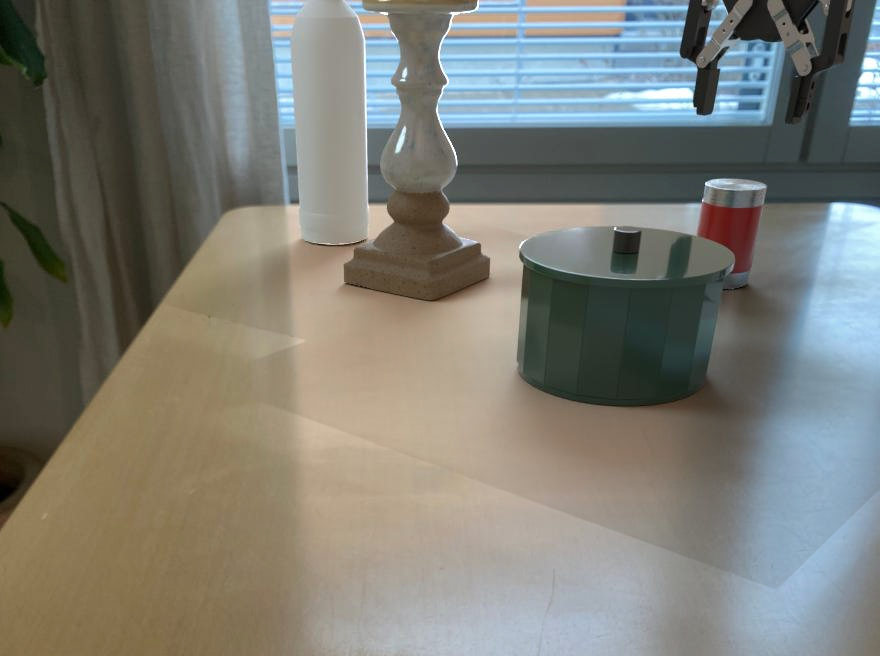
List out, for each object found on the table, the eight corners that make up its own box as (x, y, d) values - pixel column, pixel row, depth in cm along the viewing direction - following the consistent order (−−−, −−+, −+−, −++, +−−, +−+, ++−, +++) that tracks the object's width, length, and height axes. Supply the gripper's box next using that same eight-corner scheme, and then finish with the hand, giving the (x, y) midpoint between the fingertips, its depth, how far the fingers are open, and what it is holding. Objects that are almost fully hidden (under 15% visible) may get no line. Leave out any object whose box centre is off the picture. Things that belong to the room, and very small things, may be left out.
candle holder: (404, 259, 105) (405, -8, 91) (492, 275, 99) (507, -5, 86) (341, 283, 97) (331, -4, 84) (432, 301, 92) (438, -1, 78)
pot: (581, 329, 86) (592, 226, 81) (737, 367, 78) (760, 256, 73) (481, 374, 77) (486, 261, 72) (646, 422, 69) (665, 299, 64)
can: (736, 273, 100) (754, 178, 95) (756, 289, 96) (777, 189, 90) (681, 274, 100) (697, 178, 95) (699, 290, 95) (716, 190, 90)
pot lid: (589, 232, 82) (593, 197, 80) (767, 264, 73) (776, 226, 72) (476, 270, 72) (478, 231, 70) (667, 312, 64) (673, 269, 62)
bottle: (382, 240, 112) (379, -87, 94) (323, 249, 108) (308, -88, 91) (345, 226, 117) (336, -85, 100) (288, 235, 113) (267, -86, 96)
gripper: (894, -104, 78) (839, 123, 88) (728, -101, 86) (694, 107, 95) (861, -108, 74) (807, 132, 83) (688, -104, 81) (657, 115, 91)
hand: (747, 119), depth 89 cm, fingers open, 8 cm apart
